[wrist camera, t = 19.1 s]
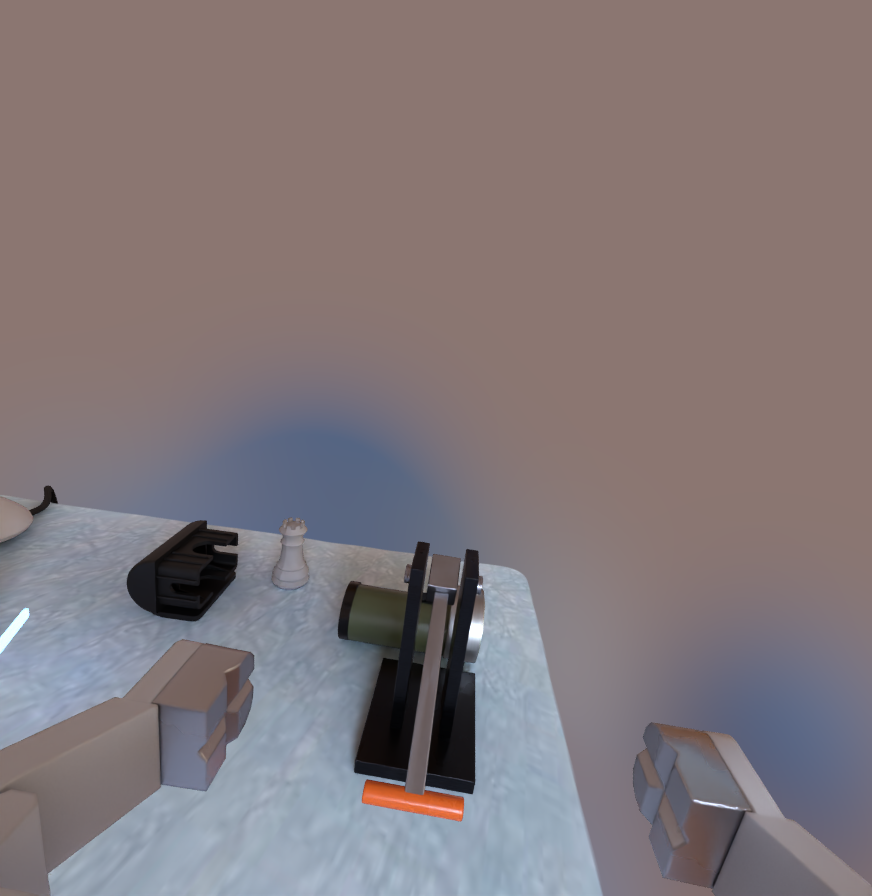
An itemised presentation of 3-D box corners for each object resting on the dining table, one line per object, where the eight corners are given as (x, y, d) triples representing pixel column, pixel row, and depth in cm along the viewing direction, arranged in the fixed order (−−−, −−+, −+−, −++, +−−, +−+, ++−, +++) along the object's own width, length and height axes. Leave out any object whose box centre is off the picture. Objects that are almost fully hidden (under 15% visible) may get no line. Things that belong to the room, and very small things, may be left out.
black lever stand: (472, 794, 34) (510, 611, 30) (353, 772, 34) (374, 588, 30) (473, 683, 45) (500, 536, 40) (382, 667, 45) (400, 520, 41)
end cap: (182, 566, 57) (181, 516, 55) (238, 574, 57) (240, 524, 55) (126, 616, 47) (123, 557, 45) (195, 625, 47) (195, 567, 45)
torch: (474, 632, 52) (484, 576, 50) (474, 679, 45) (486, 617, 43) (352, 612, 53) (357, 556, 51) (333, 655, 46) (339, 592, 44)
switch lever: (459, 825, 26) (464, 817, 24) (362, 806, 26) (360, 798, 25) (477, 577, 38) (482, 561, 36) (410, 566, 38) (411, 550, 36)
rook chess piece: (294, 595, 54) (298, 534, 52) (263, 584, 56) (265, 524, 53) (316, 577, 58) (320, 520, 56) (286, 567, 60) (289, 511, 58)
